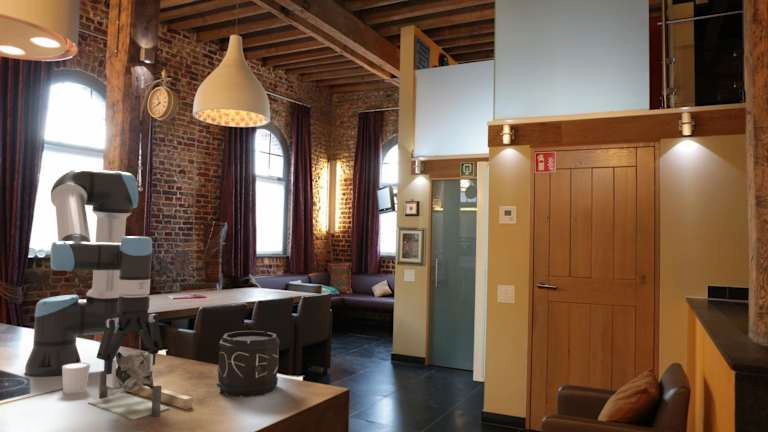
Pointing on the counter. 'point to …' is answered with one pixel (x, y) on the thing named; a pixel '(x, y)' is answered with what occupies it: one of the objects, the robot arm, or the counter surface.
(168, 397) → the grey tray with pegs
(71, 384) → the shot glass
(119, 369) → the decorative stone
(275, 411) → the counter surface
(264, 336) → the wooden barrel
